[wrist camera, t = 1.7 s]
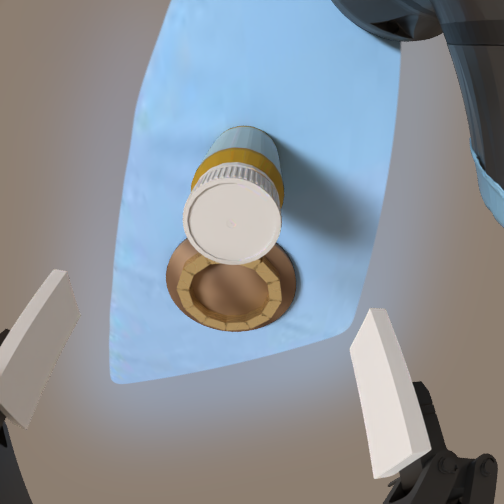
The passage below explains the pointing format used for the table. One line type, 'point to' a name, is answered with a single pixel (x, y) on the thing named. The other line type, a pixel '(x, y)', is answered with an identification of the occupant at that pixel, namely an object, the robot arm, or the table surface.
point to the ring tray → (231, 288)
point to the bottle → (236, 198)
